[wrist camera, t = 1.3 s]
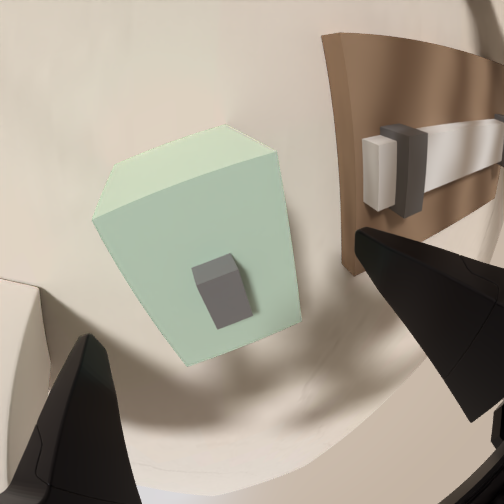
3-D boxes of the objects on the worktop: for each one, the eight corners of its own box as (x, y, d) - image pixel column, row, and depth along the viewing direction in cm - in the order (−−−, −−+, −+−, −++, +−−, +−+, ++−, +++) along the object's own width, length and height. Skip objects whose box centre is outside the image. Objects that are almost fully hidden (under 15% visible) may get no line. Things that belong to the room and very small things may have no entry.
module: (225, 124, 11) (290, 159, 6) (256, 251, 15) (310, 335, 10) (114, 164, 10) (86, 235, 6) (170, 284, 15) (191, 383, 10)
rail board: (492, 62, 13) (522, 71, 10) (484, 192, 21) (508, 207, 18) (321, 35, 10) (370, 29, 7) (341, 263, 18) (372, 296, 15)
